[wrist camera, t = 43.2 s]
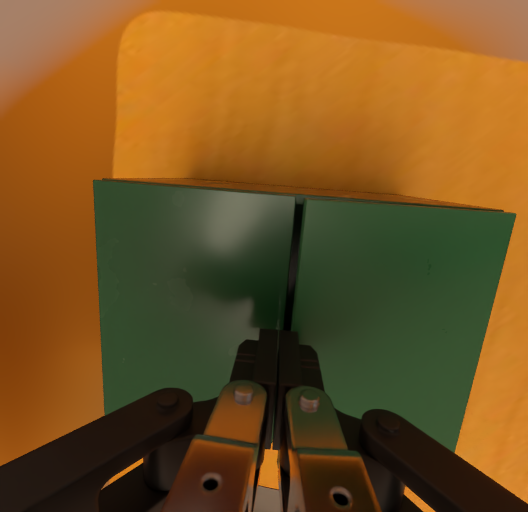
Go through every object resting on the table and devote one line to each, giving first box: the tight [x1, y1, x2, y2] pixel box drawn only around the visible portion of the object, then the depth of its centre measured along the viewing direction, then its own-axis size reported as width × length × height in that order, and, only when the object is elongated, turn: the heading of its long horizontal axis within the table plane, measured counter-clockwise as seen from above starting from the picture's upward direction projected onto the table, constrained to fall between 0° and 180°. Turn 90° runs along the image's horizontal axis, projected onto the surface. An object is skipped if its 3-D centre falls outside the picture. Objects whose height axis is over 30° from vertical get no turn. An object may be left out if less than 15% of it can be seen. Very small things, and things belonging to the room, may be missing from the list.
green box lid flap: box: [277, 198, 516, 469], centre depth 14 cm, size 8×12×1 cm
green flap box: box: [93, 178, 504, 443], centre depth 21 cm, size 17×12×13 cm
